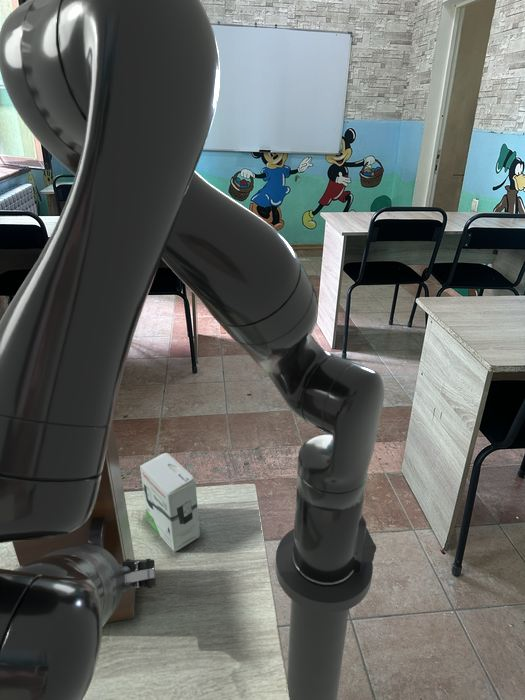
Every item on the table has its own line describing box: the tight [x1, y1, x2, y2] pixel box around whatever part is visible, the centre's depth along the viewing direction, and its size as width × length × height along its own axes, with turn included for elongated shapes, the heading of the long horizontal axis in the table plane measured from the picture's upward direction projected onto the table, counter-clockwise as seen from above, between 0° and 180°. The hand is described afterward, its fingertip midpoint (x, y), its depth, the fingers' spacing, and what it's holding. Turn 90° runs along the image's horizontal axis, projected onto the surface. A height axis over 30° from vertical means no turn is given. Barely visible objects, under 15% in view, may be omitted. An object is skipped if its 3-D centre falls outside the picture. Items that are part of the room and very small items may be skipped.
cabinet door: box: [11, 451, 135, 624], centre depth 54 cm, size 5×12×32 cm, turn 101°
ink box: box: [139, 452, 200, 553], centre depth 74 cm, size 9×5×12 cm, turn 42°
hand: (104, 572), depth 56 cm, fingers closed
